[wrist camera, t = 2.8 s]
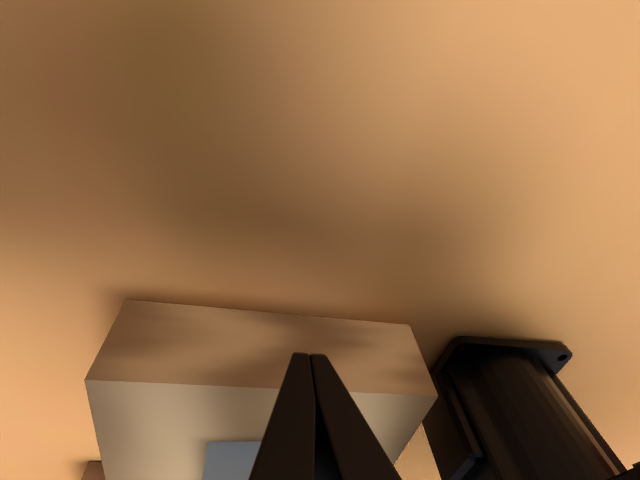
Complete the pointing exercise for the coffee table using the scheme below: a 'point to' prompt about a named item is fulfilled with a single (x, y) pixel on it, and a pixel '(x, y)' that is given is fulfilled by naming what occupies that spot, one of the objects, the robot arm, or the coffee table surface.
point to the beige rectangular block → (236, 382)
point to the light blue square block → (229, 460)
